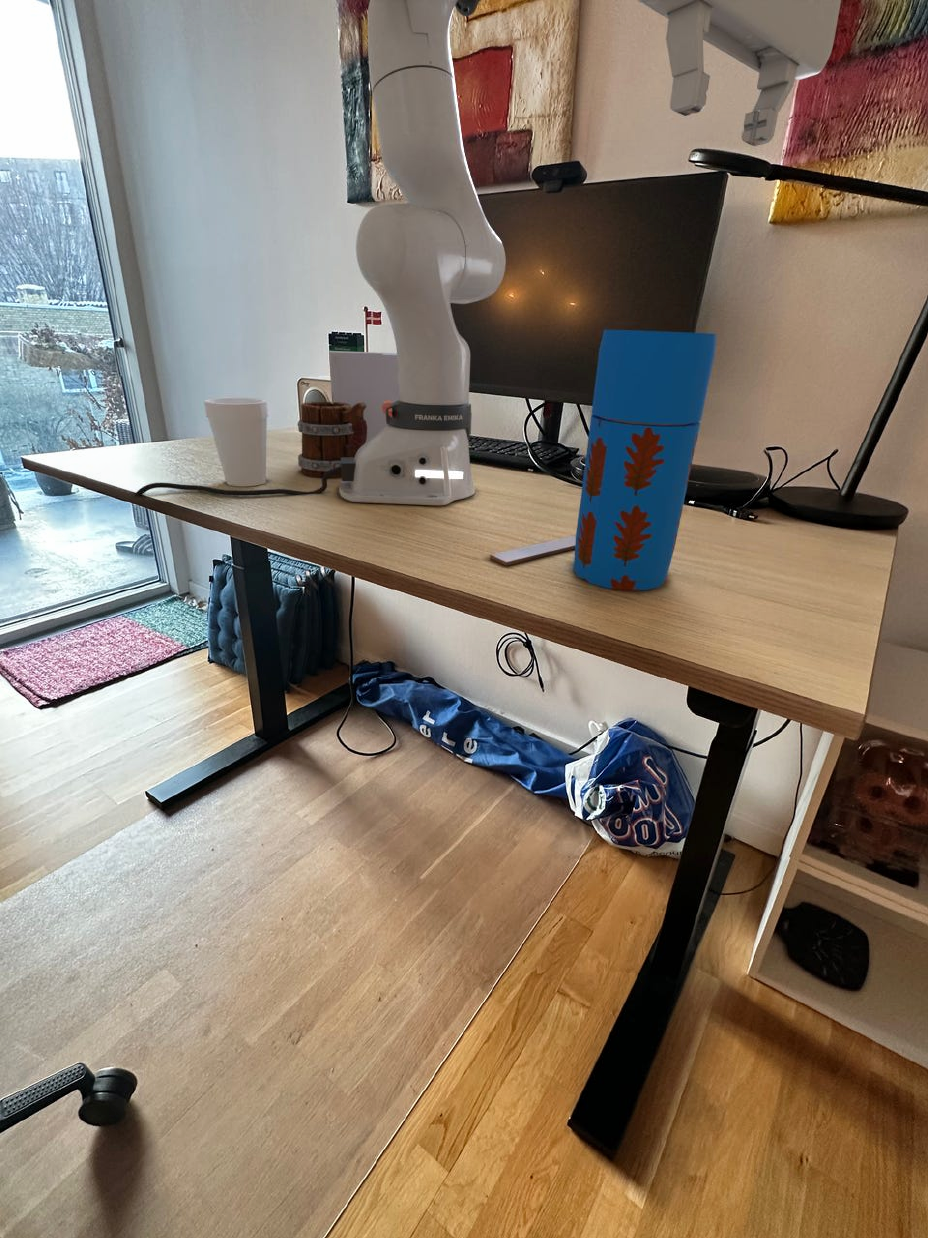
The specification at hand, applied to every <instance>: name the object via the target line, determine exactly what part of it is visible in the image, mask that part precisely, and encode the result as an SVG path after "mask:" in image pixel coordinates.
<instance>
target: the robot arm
mask: <svg viewBox="0 0 928 1238" xmlns="http://www.w3.org/2000/svg"><path fill="white" fill-rule="evenodd" d="M481 1H482V0H369V2H368V9H367V53H368V70H369V77H370V78H369V79H370V80H369V81H370V87H371V95H372V101H373V109H374V115H375V116H374V117H375V122H376V130H377V134H378V142H379V148H380V155H381V162H382V164H383V168H384V169H385V172H386V174H387V175H388V177H389V178H390V180H391V181H392V183H393V184H395V186H396V187H397V189H398V190H399V191H400V192H401V194H402V196H403V197H404V198H405V201H406V203H405V202H404V203H403V202H401V203H387V204H380V205H375V206H374V207H372V208H371V209H369V210H368V211H367V213H366V214H365V215H364V216H363V217H362V220H361V222H360V224H359V227H358V230H357V234H356V239H355V253H356V261H357V264H358V269H359V271H360V273H361V275H362V277H363V278H364V280H365V281H366V283H367V284H368V285H369V286H370V287H371V288H372V290H373V291H374V292H375V294H376V295H377V297H378V298H379V299H380V301H381V303H382V306H383V308H384V310H385V313H386V314H387V318H388V321H389V323H390V326H391V329H392V333H393V337H394V342H395V349H396V353H397V362H398V389H399V400H397V401H395V402H394V403H392V402H390V401H385V402H384V404H382V406H383V407H382V410H383V412H384V413H385V414H386V423H387V424H388V425H387V426H386V427H385V428H383V429H382V430H381V431H380V432H379V433H377V434H376V435H375V436H374V437H372V438H371V439H370V440H369V441H367V442H366V443H365V444H364V445H362V446H361V447H360V448H359V449H358V451H357V453H356V455H355V457H341V466H340V467H337V468H335V469H332V470H330V471H328V472H326V473H325V474H324V476H322V477H321V487H319V488H317V489H315V490H312V491H301V490H295V489H286V488H270V489H252V490H250V489H249V490H247V489H246V490H239V489H238V490H233V489H222V488H221V489H220V488H214V487H210V486H204V485H197V484H196V485H195V484H180V483H172V482H153V483H152V482H151V483H148V484H146V485H144V486H142V487H141V488H139V489H138V490H137V491H136V492H135V494H134V496H136V497H140V496H143V495H144V494H145V493H146V492H148V491H150V490H154V489H160V488H161V489H162V488H163V489H172V490H173V489H175V490H180V491H181V490H183V491H198V492H199V491H200V492H206V493H211V494H216V495H222V496H235V497H236V496H237V497H238V496H242V497H243V496H247V497H249V496H266V495H267V496H268V495H288V496H302V495H318V494H322V493H324V492H325V491H326V490H327V487H328V479H329V478H328V477H329V476H331V475H333V474H335V473H338V472H340V471H341V474H342V477H341V481H340V483H339V486H338V487H339V489H338V492H339V495H340V497H341V498H342V499H344V500H346V501H349V502H354V503H372V504H373V503H374V504H397V505H418V506H445V505H446V506H447V505H449V504H450V503H452V502H454V501H457V500H458V501H459V500H463V499H466V498H469V497H471V496H473V495H475V493H476V488H475V485H474V481H473V475H472V468H471V461H470V449H469V448H470V447H469V440H470V439H471V434H472V421H473V420H472V419H473V416H472V414H473V412H472V404H471V403H470V378H471V377H470V376H471V350H470V347H469V345H468V343H467V341H466V340H465V339H464V337H463V336H462V335H461V334H460V332H459V330H458V328H457V325H456V323H455V319H454V316H453V315H454V314H453V311H452V307H451V304H459V305H466V304H470V303H474V302H478V301H481V300H485V299H487V298H489V297H490V296H492V295H494V293H495V292H496V291H497V290H498V289H499V287H500V285H501V284H502V281H503V279H504V276H505V272H506V264H507V259H506V252H505V248H504V245H503V242H502V240H501V239H500V237H499V236H498V235H497V233H496V232H495V231H494V230H493V227H492V226H491V225H490V223H489V221H488V219H487V217H486V214H485V212H484V210H483V207H482V205H481V202H480V200H479V196H478V193H477V190H476V188H475V185H474V183H473V179H472V177H471V176H472V175H471V172H470V170H469V167H468V163H467V159H466V155H465V149H464V144H463V138H462V129H461V122H460V114H459V113H460V112H459V106H458V105H459V104H458V97H457V87H456V80H455V79H456V78H455V71H454V64H453V59H452V52H451V43H450V41H451V40H450V23H451V21H452V16H453V12H454V10H455V9H456V10H457V12H458V13H459V14H460V15H461V16H463V17H469V16H472V15H474V13H475V12H476V10H477V8H478V5H479V3H480V2H481ZM636 1H637V2H638V3H640V4H642V5H643V6H645V7H647V8H649V9H651V10H652V11H654V12H655V13H657V14H659V15H660V16H662V17H664V18H666V19H667V27H666V36H665V41H666V47H667V53H668V59H669V66H670V73H671V77H672V84H671V92H670V99H669V100H670V101H669V108H670V110H671V111H673V112H675V113H677V114H680V115H681V116H684V117H686V116H691V115H692V114H698V113H700V112H701V111H702V110H703V109H704V108H705V106H706V104H707V92H708V90H709V84H710V80H711V79H710V77H711V76H710V75H709V74H708V73H706V72H705V69H704V66H705V65H704V64H705V63H704V42H706V43H707V44H710V45H711V46H713V47H715V48H717V49H718V50H720V51H721V52H723V53H725V54H726V55H728V56H730V57H731V58H734V59H735V60H736V61H738V62H740V63H742V64H743V65H745V66H747V67H749V68H751V69H752V70H754V71H755V72H758V78H757V83H756V88H757V90H759V94H758V96H757V99H756V101H755V104H754V107H753V109H752V111H751V112H748V113H745V115H744V121H743V130H742V132H741V140H742V142H744V143H746V144H748V145H750V146H753V147H757V146H763V145H766V144H769V143H770V142H771V141H772V140H773V138H774V136H775V132H776V127H777V121H778V118H779V117H778V116H779V113H780V112H781V111H782V108H783V106H784V105H785V102H786V100H787V99H788V97H789V94H790V93H791V91H792V89H793V87H794V84H795V82H797V81H800V80H801V81H802V80H804V79H807V78H810V77H813V76H816V75H819V74H820V73H822V71H823V69H824V68H825V66H826V65H827V62H828V60H829V59H830V57H831V55H832V51H833V48H834V43H835V37H836V33H837V28H838V27H837V26H838V22H839V21H838V20H839V14H840V10H841V9H840V8H841V3H842V0H636Z"/></svg>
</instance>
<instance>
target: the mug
mask: <svg viewBox="0 0 928 1238" xmlns="http://www.w3.org/2000/svg"><path fill="white" fill-rule="evenodd" d="M365 408H366V405H365V403H357V404H356V405H354V406H353V407H351V405H350V404H347V403H341V402H333V404H332V401H311V402H310V401H309V402H308V401H307V402H303V403H301V404H300V409H301V410H300V411H301V413H300V415H301V419H299V420H298V421H297V428H298V432H299V433H301V453H299V454H298V457H297V463H298V467H300V468H301V469H300V470H301V473H302V474H304V475H306V476H308V477H314V478H322V477H323V476H324V474H325V473H326V472H328V471H330V470H332V469H335V468H337V467H340V466H341V457H355V455H356V453H357V451H358V449H359V448H360V447H361V446H362V445H364V444H365V443H366V439H367V429H368V428H367V424H366V420H364V415H363V411H364V410H365ZM335 478H342V474H341V471H340V472H338V473H335V474H333V475H331V476H329V477H328V478H327V479H335Z"/></svg>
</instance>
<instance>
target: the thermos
mask: <svg viewBox="0 0 928 1238" xmlns="http://www.w3.org/2000/svg"><path fill="white" fill-rule="evenodd" d="M716 342H717V333H710V332H709V333H708V332H707V333H706V332H685V331H684V332H683V331H661V330H660V331H659V330H657V331H656V330H629V329H628V330H627V329H604V330H603V334H602V339H601V342H600V347H599V352H598V360H597V366H596V375H595V383H594V390H593V399H592V406H591V415H590V423H589V431H588V438H587V446H586V453H585V462H584V468H583V469H584V471H583V478H582V486H581V492H580V501H579V508H578V509H579V510H578V517H577V524H576V534H575V535H576V543H575V549H574V557H573V558H574V559H573V560H574V561H573V572H574V573H575V574H576V575H577V577H578V578H580V579H582V580H583V581H586V582H587V583H589V584H592V585H595V586H599V587H601V588H605V589H612V590H617V591H631V592H640V591H648V590H654V589H656V588H659V587H661V586H662V585H663V584H665V582H666V581H667V577H668V572H669V569H670V566H671V562H672V559H673V556H674V555H673V554H674V551H675V548H676V547H675V546H676V542H677V538H678V532H679V529H680V522H681V518H682V513H683V509H684V504H685V499H686V498H685V497H686V494H687V490H688V486H689V485H688V484H689V479H690V475H691V470H692V465H693V460H694V455H695V450H696V446H697V441H698V436H699V431H700V427H701V423H700V422H701V421H702V418H703V417H702V416H703V413H704V407H705V403H706V398H707V392H708V388H709V383H710V379H711V374H712V369H713V364H714V359H715V354H716V344H717V343H716Z"/></svg>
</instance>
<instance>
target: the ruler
mask: <svg viewBox="0 0 928 1238" xmlns="http://www.w3.org/2000/svg"><path fill="white" fill-rule="evenodd" d="M575 543H576V534H574V535H569V536H564V537H561V538H556V539H552V540H548V541H543V542H539V543H534V544H530V545H526V546H522V547H521V546H520V547H518V548H512V549H509V550H505V551H500V552H496V553H492V554H490V555H489V559H491V560H492V561H495V562H497V563H498V564H501V565H503V566H505V567H507V566H511V565H516V564H520V563H524V562H529V561H532V560H536V559H539V558H543V557H548V556H551V555H555V554H560V553H563V552H568V551H573V550H575Z"/></svg>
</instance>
